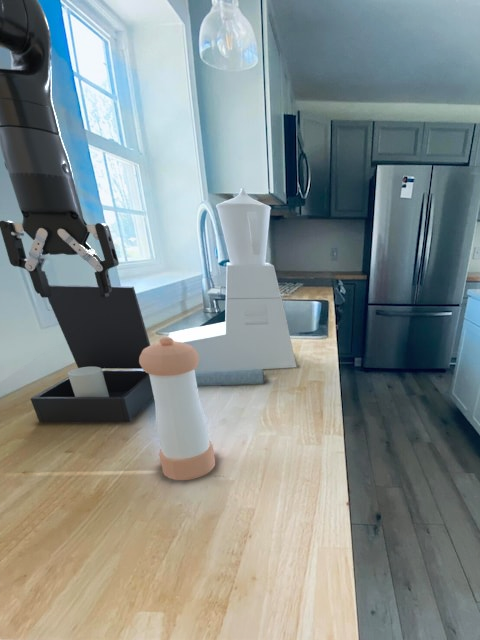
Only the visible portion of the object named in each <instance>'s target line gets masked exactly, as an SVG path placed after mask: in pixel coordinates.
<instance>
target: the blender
mask: <svg viewBox="0 0 480 640" xmlns="http://www.w3.org/2000/svg"><path fill="white" fill-rule="evenodd" d="M215 208H216V210H217V214H218V218H219V222H220V226H221V231H222V235H223V239H224V243H225V248H226V252H227V256H228V260H229V262H228V261H227V262H226V263H225V265H226V266H225V267H226V269H225V273H226V274H225V306H224V307H225V312H224V313H225V314H224V315H225V318H224V321H222V322H216V323H211V324H206V325H201V326H196V327H195V326H194V327H191V328H184V329H180V330H175V331H170V332H169V334H168V336H167V337H170V338H172V339H173V340H174V341H177V342H182V343H185V344H188V345H191V346H192V347H193V348H194V349H195V350H196V351H197V353H198V355H199V362H198V366H197V367H196V368H195V369H194V370H195V372H210V371H237V370H270V369H273V370H274V369H287V368H288V369H290V368H297V362H296V358H295V353H294V348H293V343H292V338H291V333H290V329H289V326H288V325H289V324H288V321H287V315H286V311H285V307H284V303H283V298H282V294H281V290H280V287H279V282H278V277H277V273H276V269H275V265H273V264H272V263H270V262H267V261H266V260H267V259H266V258H267V252H268V251H267V250H268V239H269V229H270V228H269V227H270V218H271V210H272V207H271V206H270V205H268V204H265V203H263V202H261V201H259V200H256V199H254V198H252V197H251V196H250V195H248V193H247V192H246V190H245V188H240V190H239V192H238V194H237V195H236V196H235V197H232V198H230V199H227V200H224V201H222V202H219V203H217V204H215Z"/></svg>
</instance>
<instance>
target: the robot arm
mask: <svg viewBox="0 0 480 640" xmlns="http://www.w3.org/2000/svg"><path fill="white" fill-rule="evenodd" d="M44 11H45V10H44V9H43V7H42V4H41V3H40V2H39V0H0V48H3V49H4V50H7V51H8V52H9V56H10V68H6V67H0V150H1V154H2V157H3V160H4V161H3V163H4V166H5V169H6V171H7V173H8V177H9V179H10V182H11V185H12V188H13V191H14V196H15V198H16V202H17V204H18V207H19V210H20V212H21V215H22V222H15V221H13V220H0V232H1V236H2V240H3V243H4V246H5V249H6V253H7V257H8V261H9V263H10V265H11V266H13V267H15V268H16V267H19V268H20V269H21V268H22V269H24V270H26V271H27V272H28V273H29V276H30V279H31V282H32V285H33V289H34V291H35V292H36V293H37V294H40V297H41V298H42V299H43V298H47V299H48V297H51V296H52V293H51V290H50V287H49V285H50V283H49V281H48V277H47V274H46V271H45V270H43V266H44V264H45V262H46V260H47V259H48V258H49V256H51V255H53V256H55V255H66V256H76V255H78V256H80V258H82V259H83V260H84V261H86V262H87V263H88V264H89V265H90V266H91V267H92V268H93V269H94V270H95V271H94V272H93V273H94V276H95V280H96V286H98V288H99V292H100V296H101V297H107V296H109V293H110V292H111V291H112V287H111V286H112V284H111V280H110V276H109V270H110V269H113V268H115V267H117V266H119V264H120V263H119V259H118V254H117V250H116V248H115V244H114V240H113V237H112V233H111V229H110V226H109V225H108V224H107V223H102V222H97V223H95V224H88V223H87V222H86V220H85V219H84V216H83V210H82V207H81V203H80V198H79V195H78V190H77V186H76V182H75V179H74V174H73V171H72V167H71V166H72V165H71V162H70V159H69V155H68V153H67V150H66V148H65V145H64V141H63V138H62V135H61V131H60V127H59V123H58V119H57V115H56V111H55V108H54V104H53V98H52V97H53V96H52V94H53V93H52V39H51V30H50V25H49V22H48V19H47V17H46V13H45V12H44ZM24 233H26V234H27V235H28V237H29V238H31V240H33V242H32V244H31V246H30V249H29V251H28V257H27V255H26V251H25V248H24V243H23V238H24V237H25V234H24ZM90 234H92V236H93V238H94V239H95V240H96V241H98V242H99V245H100V249H101V252H102V255H103V259H102V258H101V257H100V256H99V255H98V253H97V252H96V251H95V250H94V248H93V247H92V246H91V245H90V244H88V242H87V241H88V239H89V236H90Z"/></svg>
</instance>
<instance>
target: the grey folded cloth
mask: <svg viewBox="0 0 480 640" xmlns="http://www.w3.org/2000/svg"><path fill="white" fill-rule="evenodd" d="M195 376H196V382H197V387H201V386H202V387H204V386H242V385H244V386H245V385H264V383H265V372H264V369H256V370H237V371H210V372H195Z"/></svg>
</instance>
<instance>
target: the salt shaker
mask: <svg viewBox="0 0 480 640" xmlns="http://www.w3.org/2000/svg"><path fill="white" fill-rule="evenodd" d="M159 339H160V340H159V341H158V342H155V343H151V344H150V346H148V347H147V348H145V349H143V351H142V353H141V355H140V357H139V363H140V365H141V367H142V368H143V369H142V370H144V371H145V372H146V373H148V374H149V376H150V381H151V386H152V391H153V395H154V398H153V399H154V406H155V407H154V408H155V431H156V435H157V439H158V443H159V447H160V449H159V453H158V457H159V461H160V465H161V469H162V473H163V475H164V476H165V477H166V478H169V479H170V480H171V479H172V480H174V481H189V480H195V479H197V478H201V477H203V476H205V475H207V474H208V473H210V472H211V471H212V470H214V468H215V466H216V458H215V449H214V444H213V443H212V441H211V440H210V435H209V425H208V421H207V417H206V415H205V412H204V408H203V405H202V403H201V400H200V395H199V390H198V386H197V382H196V376H195V370H194V369H195V368H196V367H197V366H198V362H199V355H198V353H197V351H196V350H195V349H194V348H193V347H192V346H191V345H188V344H185V343H182V342H177V341H174V340H173V339H172V338H170V337H168V336H162V337H161V338H159Z"/></svg>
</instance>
